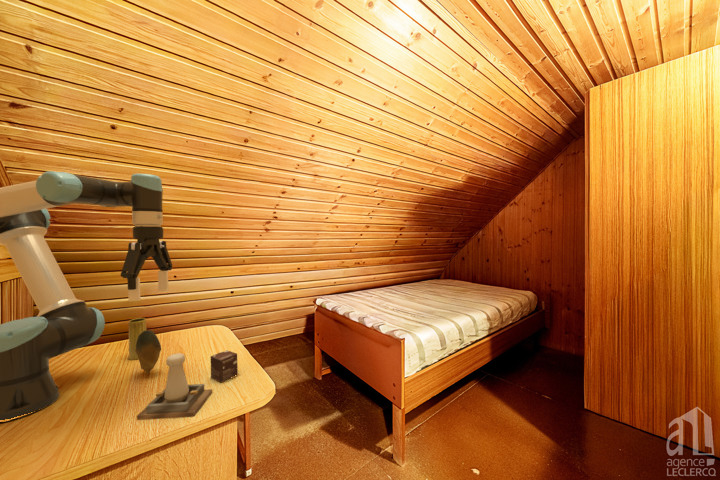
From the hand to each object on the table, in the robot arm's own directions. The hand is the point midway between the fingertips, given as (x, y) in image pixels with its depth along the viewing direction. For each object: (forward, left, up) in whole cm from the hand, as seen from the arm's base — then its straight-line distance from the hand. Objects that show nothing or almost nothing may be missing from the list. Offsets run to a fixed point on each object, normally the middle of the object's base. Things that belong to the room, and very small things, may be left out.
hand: (150, 295), depth 89 cm
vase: (-19, +23, -29) cm, 42 cm away
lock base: (+13, -11, -29) cm, 33 cm away
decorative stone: (-6, +8, -29) cm, 31 cm away
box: (+20, +4, -29) cm, 35 cm away
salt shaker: (+13, -11, -28) cm, 32 cm away
